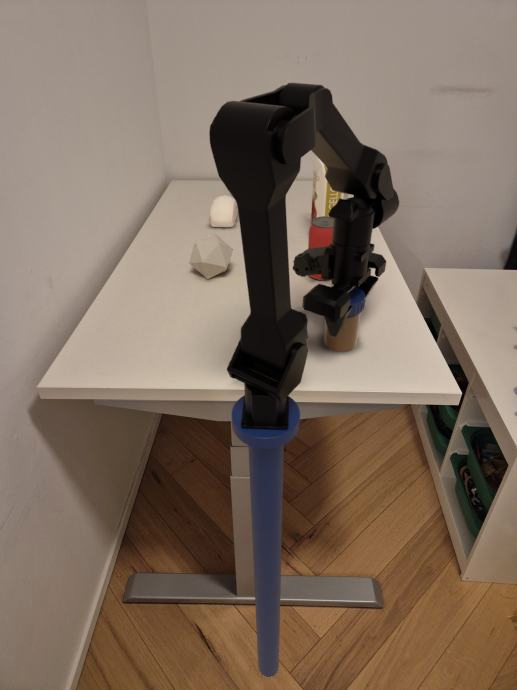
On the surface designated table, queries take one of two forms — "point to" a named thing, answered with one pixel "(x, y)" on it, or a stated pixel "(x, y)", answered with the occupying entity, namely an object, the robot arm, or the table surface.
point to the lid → (356, 301)
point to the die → (210, 255)
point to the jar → (344, 335)
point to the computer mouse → (223, 212)
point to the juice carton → (323, 192)
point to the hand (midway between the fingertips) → (342, 325)
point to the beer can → (320, 235)
